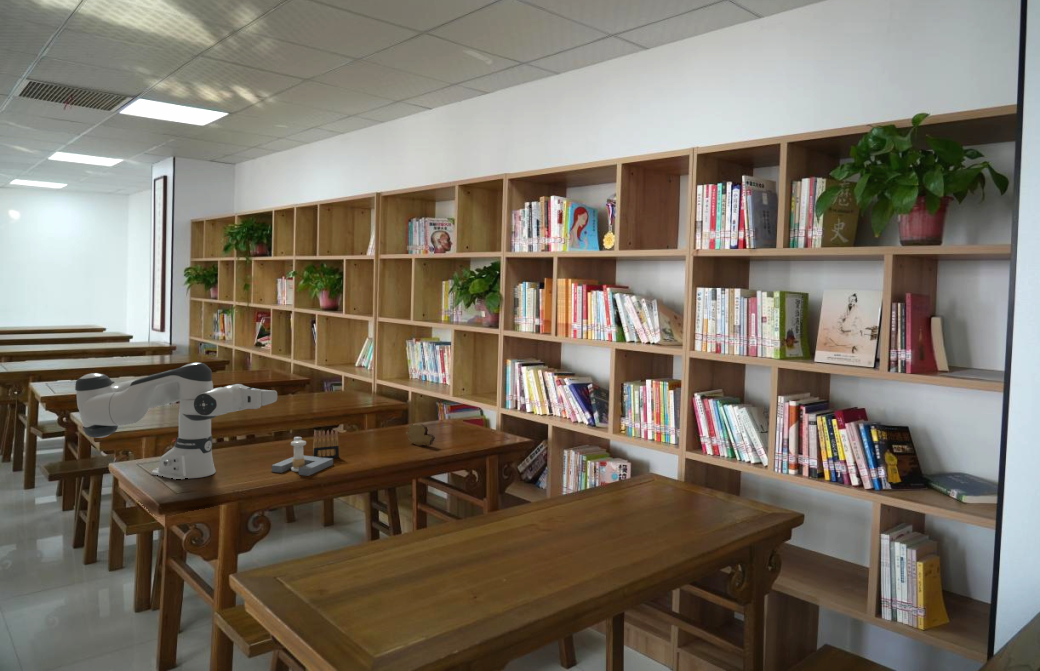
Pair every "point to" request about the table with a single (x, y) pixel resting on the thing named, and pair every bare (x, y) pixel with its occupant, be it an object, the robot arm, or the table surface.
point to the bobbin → (298, 455)
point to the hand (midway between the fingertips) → (261, 391)
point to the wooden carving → (420, 435)
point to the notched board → (310, 464)
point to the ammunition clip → (326, 445)
